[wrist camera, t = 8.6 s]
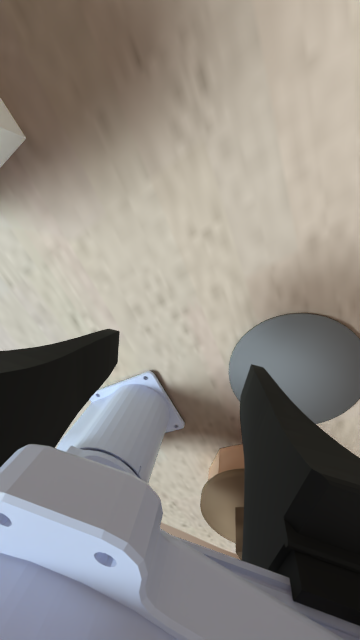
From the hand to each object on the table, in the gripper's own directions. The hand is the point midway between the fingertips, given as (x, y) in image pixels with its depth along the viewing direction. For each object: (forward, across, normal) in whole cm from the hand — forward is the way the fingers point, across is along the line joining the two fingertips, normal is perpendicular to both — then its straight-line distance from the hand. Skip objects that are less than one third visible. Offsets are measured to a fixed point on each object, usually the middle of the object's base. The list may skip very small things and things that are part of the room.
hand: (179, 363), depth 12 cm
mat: (+10, -10, +4) cm, 15 cm away
